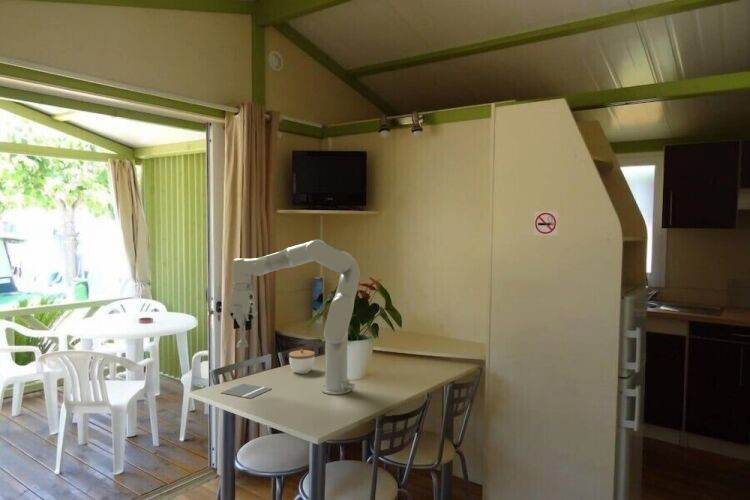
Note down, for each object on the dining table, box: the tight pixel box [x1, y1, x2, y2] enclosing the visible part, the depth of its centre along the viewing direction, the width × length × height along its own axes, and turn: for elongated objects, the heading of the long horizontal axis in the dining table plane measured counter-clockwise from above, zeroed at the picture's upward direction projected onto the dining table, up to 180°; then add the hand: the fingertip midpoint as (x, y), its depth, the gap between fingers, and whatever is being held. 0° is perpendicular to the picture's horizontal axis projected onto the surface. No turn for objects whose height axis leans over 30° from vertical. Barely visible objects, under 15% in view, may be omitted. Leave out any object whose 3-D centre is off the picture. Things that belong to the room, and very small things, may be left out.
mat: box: [220, 383, 273, 400], centre depth 215 cm, size 16×14×1 cm
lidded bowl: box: [288, 348, 316, 375], centre depth 246 cm, size 13×13×11 cm
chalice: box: [234, 305, 249, 348], centre depth 215 cm, size 7×7×18 cm
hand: (242, 328), depth 215 cm, fingers closed on chalice, 5 cm apart
